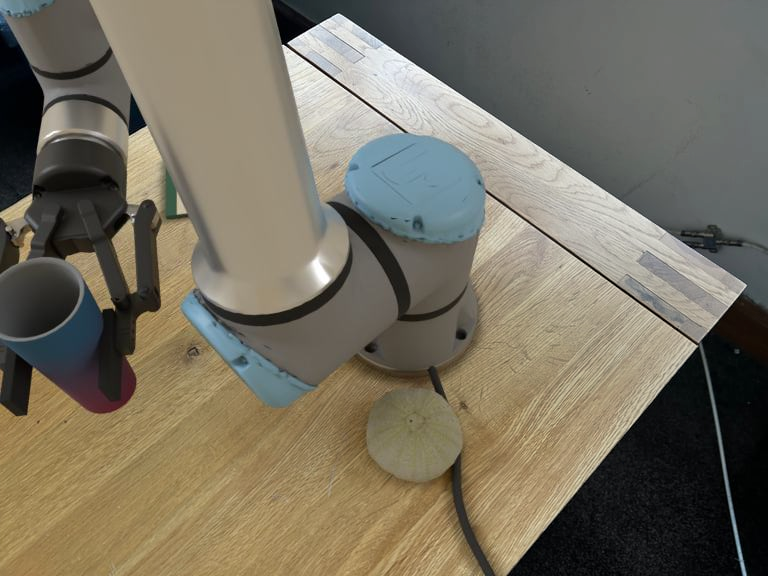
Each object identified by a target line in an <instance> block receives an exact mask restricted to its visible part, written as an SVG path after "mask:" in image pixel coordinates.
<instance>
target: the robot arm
mask: <svg viewBox="0 0 768 576" xmlns="http://www.w3.org/2000/svg"><path fill="white" fill-rule="evenodd" d="M0 12H1V13H2V15H3V17H4V19H5V21H6V23H7V25H8V27H9V28H10V30H11V32H12V33H13V35H14V37H15V39H16V40H17V43H18V44H19V46H20V48H21V49H22V51H23V53H24V55H25V57H26V60H27V62H28V64H29V67H30V69H31V70H32V72H33V74H34V76H35V77H36V79H37V82H38V83H39V85H40V87H41V89H42V92H43V96H44V99H43V110H42V116H41V124H40V129H39V134H38V135H39V136H38V142H37V148H36V159H35V162H34V163H35V164H34V170H33V178H32V185H31V202H30V204H29V206H28V207H27V208H26V209H25V211H24V213H23V216H21V217H18V218H16V219H13V220H9V221H5V220H4V218H2V217H0V274H2V273H3V272H4V271H6V270H7V269H9V268H10V267H12V266H14V265H16V264H18V263H20V259H21V258H20V257H21V251H20V249H22V248H24V247H25V238H26V236H27V234H29V233H31V232H32V233H33V236H32V238H31V239H30V243H29V247H30V251H29V252H28V254H27V257H26V259H25V260H24V261H26V260H29V259H33V258H40V257H53V258H58V259H62V260H65V261H66V259H67V258H68V257H70V256H74V255H76V254H79V253H85V254H94V253H95V257H96V259H97V261H98V264H99V268H100V271H101V273H102V275H103V279H104V282H105V284H106V288H107V290H108V293H109V295H110V298H109V299H110V301H111V303H112V305H114V308H113V307H109V308H102V310H101V312H102V315H103V319H104V322H103V330H102V334H101V340H100V357H99V374H98V388H99V390H100V391H101V392H102V393H103V394H104V395H105V396H106V398H107V399H108V400H109V401H110V402H116V401H121V386H122V360H123V356H126V357H128V356H133V355H134V353H135V350H136V349H137V348H136V344H137V342H136V341H137V321H138V318H140V316H142V315H143V314H145V313H148V312H149V313H157V312H158V311H160V310H161V307H162V298H161V297H162V295H161V282H160V281H161V280H160V270H159V257H158V243H157V238H158V234H159V232H160V229H161V227H162V224H163V219H162V217H161V215H160V212H159V209H158V207H157V206H156V203H155V201H154V200H152V199H150V198H147V199H144V200H143V201H141V202H140V203H139V204H132V203H128V200H127V193H128V192H127V188H128V159H129V156H128V155H129V139H130V133H129V130H130V113H131V111H130V110H131V95H132V96H133V98H134V101H135V103H136V105H137V108H138V109H139V112H140V114H141V116H142V118H143V120H144V122H145V125H146V127H147V129H148V131H149V133H150V136H151V138H152V140H153V142H154V144H155V146H156V148H157V151H158V153H159V155H160V157H161V159H162V162H163V163H164V167H165V169H166V168H167V170H168V173H169V175H170V177H171V179H172V181H173V183H174V186H175V188H176V190H177V192H178V194H179V196H180V199H181V201H182V203H183V205H184V207H185V210H186V212H187V214H188V216H189V217H188V219H189V221H190V223H191V225H192V227H193V229H194V231H195V234H196V236H197V238H198V239H197V241H196V243H195V245H194V247H193V251H192V255H191V260H190V269H191V272H190V273H191V274H192V278H193V281H194V284H195V286H196V288H193V289H192V290H191V291H189V292H188V294H187V296H186V297H185V298H184V299H183V300H182V301H181V304H180V311H181V312H182V314H183V316H184V317H185V318H186V319H187V321H188V322H189V323H190V324H191V325H192V326H193V328H194V329H195V330H196V331H197V332H198V333H199V335H200V336H201V337H202V338H203V339H204V340H205V342H206V343H207V344H208V345H209V346H210V348H212V349H213V351H214V352H215V353H216V354H217V355H218V357H220V359H222V361H223V362H224V363H225V364H226V365H227V366H228V367H229V368H230V369H231V371H232V372H233V373H234V374H235V375H236V376H237V377H238V378H239V379H240V380H241V382H243V384H244V385H245V386H246V387H247V388H248V389H249V390H250V391H251V392H252V393H253V394H254V395H255V397H256V398H258V399H259V401H261V403H263V404H264V405H266V406H267V407H269V408H272V409H283V408H287V407H289V406H291V405H292V404H293V403H295V402H296V401H297V400H299V399H300V398H302V397H303V396H304V395H306V394H307V393H308V392H313V391H316V389H317V388H318V387H319V385H320V384H321V383H323V382H324V381H325V380H326V379H328V378H329V377H330V376H331V375H333V374H334V373H335V372H336V371H337V370H339V369H340V368H341V367H342V366H344V365H345V364H346V363H347V362H348V361H349V360H350V359H352V358H353V357H355V358H356V359H357V360H358V361H359V362H360V363H362V364H363V365H365V366H366V367H368V368H370V369H371V370H374V371H376V372H378V373H380V374H384V375H387V376H391V377H397V378H419V377H426V376H429V378H430V382H431V384H432V387H433V389H434V392H436V393H438V394H439V395H442V397H443V398H444V399H445V400H446V401H447V402H448V404H449V405H450V403H449V400H448V397H447V395H446V391H445V390H444V387H443V384H442V382H441V379H440V376H439V372H441V371H443V370H444V369H446V368H448V367H450V366H452V365H453V364H454V363H455V362H456V361H458V360H459V359H460V358H461V357H462V355H463V354H464V353H466V350H467V349H468V348H469V347H470V345H471V342H472V341H473V339H474V335H475V331H476V329H477V324H478V320H479V303H478V298H477V294H476V291H475V289H474V288H475V287H474V286H473V283H472V280H471V277H470V276H471V272H472V267H473V263H474V259H475V254H476V251H477V246H478V243H479V237H480V233H481V230H482V227H483V226H484V222H485V220H486V209H485V206H486V198H487V189H486V184H485V180H484V177H483V175H482V173H481V171H480V169H479V168H478V167H477V165H476V163H475V162H474V161H473V160H472V159H471V158H470V157H469V156H468V155H467V154H466V153H465V152H464V151H462V150H461V149H459V147H457V146H455V145H453V144H451V143H450V142H447V141H445V140H442V139H441V138H437V137H433V136H430V135H417V134H414V133H411V132H402V133H392V134H391V133H390V134H386V135H382V136H380V137H376V138H374V139H372V140H369V141H368V142H367V143H365V144H364V145H362V146H361V147H359V148H358V149H357V150H356V152H355V153H353V155H352V157H351V158H350V160H349V161H348V162H349V163H348V167H347V169H346V173H345V175H344V177H343V182H344V183H343V184H344V189H343V190H342V191H340V192H338V193H337V194H336V195H335V196H333V197H331V198H330V199H328V200H327V201H323V200H321V199H320V196H319V191H318V187H317V183H316V180H315V175H314V171H313V168H312V167H313V166H312V164H311V163H312V162H311V159H310V154H309V150H308V147H307V146H308V145H307V142H306V139H305V133H304V130H303V125H302V122H301V117H300V114H299V113H300V112H299V109H298V105H297V101H296V97H295V96H296V95H295V93H294V88H293V85H292V79H291V77H290V73H289V67H288V64H287V59H286V56H285V51H284V48H283V44H282V40H281V35H280V31H279V27H278V22H277V18H276V14H275V11H274V5H273V2H272V0H0ZM128 222H130V224H131V226H132V228H133V239H134V241H133V242H134V256H135V257H134V259H135V280H136V291H134V292H132V293H131V290H130V288H129V285H128V281H127V279H126V276H125V275H124V272H123V268H122V266H121V263H120V261H119V257H118V254H117V251H116V248H115V245H114V243H113V239H114V238H115V236H116V235H118V233H119V232H120V231H121V230H122V229H123V227H124V226H125V225H126V224H127V223H128ZM33 369H34V367H33V366H32V365H30V364H29V363H28V362H27V361H25V360H24V359H23V358H22V357H20V356H19V355H18V354H17V353H15V352H14V351H13V350H12V349H10V348H9V347H8V346H7V345H6V344H4V343H3V342H2V341H1V340H0V371H1V372H2V376H1V377H2V379H1V384H0V405H1V406H2V407H4V408H5V409H6V410H8V411H9V412H10V413H11V414H13V416H15V417H17V418H18V417H23V416H28V412H29V404H30V395H31V389H32V388H31V387H32V379H33V371H34V370H33ZM451 488H452V498H453V504H454V508H455V513H456V515H457V519H458V522H459V524H460V527H461V530H462V533H463V536H464V537H465V540H466V542H467V544H468V546H469V548H470V550H471V552H472V554H473V556H474V559H475V560H476V561H477V563H478V565H479V567H480V569H481V571H482V573H483V575H484V576H497V575H496V573H495V570H494V569H493V567H492V566H491V563H490V561H489V560H488V558H487V557H486V554H485V552H484V550H483V548H482V547H481V545H480V543H479V540H478V539H477V537H476V534H475V533H474V529H473V528H472V525H471V522H470V519H469V517H468V514H467V510H466V507H465V501H464V496H463V490H462V451H461V452H460V453H459V455H458V456H457V458H456V460H455V463H454V464H452V466H451Z"/></svg>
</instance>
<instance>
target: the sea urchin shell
mask: <svg viewBox="0 0 768 576" xmlns="http://www.w3.org/2000/svg"><path fill="white" fill-rule="evenodd" d="M448 403H449V401H448V402H447V401H446V400H445V399H444V398H443V397H442V395H439V394H438V393H436V392H435V390H431V389H427V388H423V387H400V388H397V389H394V390H390V391H386V392H385V393H384V394H383V395H381V397H379V398H378V399H377V401H376V402H375V404H374V405H373V407H372V409H371V410H370V412H369V417H368V421H367V425H366V429H365V440H366V448H367V451H368V453H369V455H370V457H371V459H372V460H374V462H375V463H377V465H378V466H379V467H380V468H381V469H382V470H384V472H387V473H389V474H391V475H393V476H394V477H395V478H396V479H399V480H403V481H407V482H410V483H414V484H425V483H428V482H430V481H431V480H435V479H437V478H439V477H441V476H442V475H444V474H445V472H446V471H447V470H448V469H450V467H452V464H454V463H455V460H456V458H457V456H458V455H459V453H460V452H461V453H462V450H463V444H464V443H463V442H464V437H463V432H462V427H461V423H460V420H459V419H458V417H457V415H456V412H455V410H454V407H453V406H452V405H450V403H449V404H448Z"/></svg>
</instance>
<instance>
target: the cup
mask: <svg viewBox="0 0 768 576" xmlns="http://www.w3.org/2000/svg"><path fill="white" fill-rule="evenodd" d="M25 260H26V259H25ZM25 260H23V261H19V263H18V264H16V265H14V266H12V267H10V268H9V269H7V270H6V271H4V272H3V273H2V274H0V340H1V341H2V342H3V343H4V344H6V345H7V346H8V347H9V348H10V349H12V350H13V351H14V352H15V353H17V354H18V355H19V356H20V357H22V358H23V359H24V360H25V361H27V362H28V363H29V364H30V365H32V366H33V369H35V370H36V371H38V372H39V373H40V374H41V375H43V377H45V378H46V379H47V380H48V381H50V382H51V383H52V384H54V385H55V386H56V387H57V388H58V389H60V390H61V391H62V392H64V393H65V394H66V395H67V396H68V397H70V398H71V399H72V400H74V401H75V402H76V403H77V404H78V405H80V406H81V407H82V408H83V409H84V410H86V411H88V412H89V413H92V414H97V415H105V414H110V413H113V412H116V411H117V410H120V409H121V408H123V407H124V406H125V405H127V403H129V401H130V400H131V399H132V397H133V396H134V395H135V392H136V389H137V385H138V383H137V379H138V378H137V375H136V373H135V370H134V369H133V367H132V365H131V364H130V363H131V362H129V360H128V358H127V356H123V360H122V386H121V401H116V402H110V401H109V400H108V399H107V398H106V396H105V395H104V394H103V393H102V392H101V391H100V390H99V388H98V374H99V357H100V340H101V334H102V330H103V322H104V319H103V315H102V310H101V308H100V306H99V304H98V302H97V301H96V299H95V297H94V296H93V293H92V291H91V290H90V288H89V286H88V284H87V282H86V280H85V279H84V277H83V274H82V273H81V271H80V270H79V269H78V268H77V267H76V266H75V265H73V263H70V262H69V261H67V260H66V259H65V260H62V259H58V258H53V257H40V258H33V259H29V260H26V261H25Z"/></svg>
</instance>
